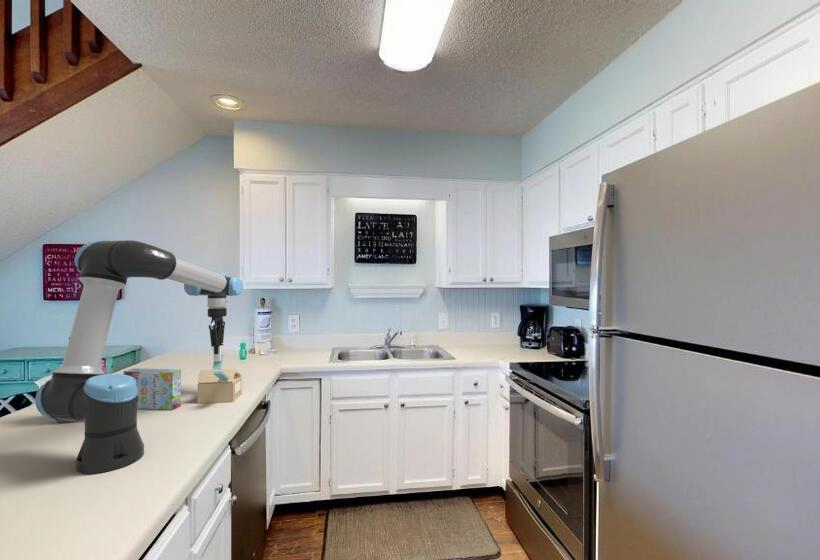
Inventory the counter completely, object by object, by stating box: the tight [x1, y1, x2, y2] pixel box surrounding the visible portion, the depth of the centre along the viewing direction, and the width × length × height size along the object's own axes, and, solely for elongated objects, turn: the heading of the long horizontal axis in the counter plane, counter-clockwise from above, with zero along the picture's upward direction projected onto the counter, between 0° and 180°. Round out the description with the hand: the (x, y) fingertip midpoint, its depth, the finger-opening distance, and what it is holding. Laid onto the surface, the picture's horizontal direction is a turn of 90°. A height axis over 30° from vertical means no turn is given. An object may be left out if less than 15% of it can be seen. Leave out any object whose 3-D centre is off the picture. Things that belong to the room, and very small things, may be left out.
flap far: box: [211, 353, 242, 376], centre depth 167 cm, size 5×14×10 cm, turn 97°
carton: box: [197, 375, 243, 404], centre depth 162 cm, size 11×14×8 cm
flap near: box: [197, 368, 236, 384], centre depth 154 cm, size 5×14×10 cm
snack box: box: [123, 367, 182, 411], centre depth 151 cm, size 21×6×15 cm, turn 84°
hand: (217, 360), depth 167 cm, fingers closed
